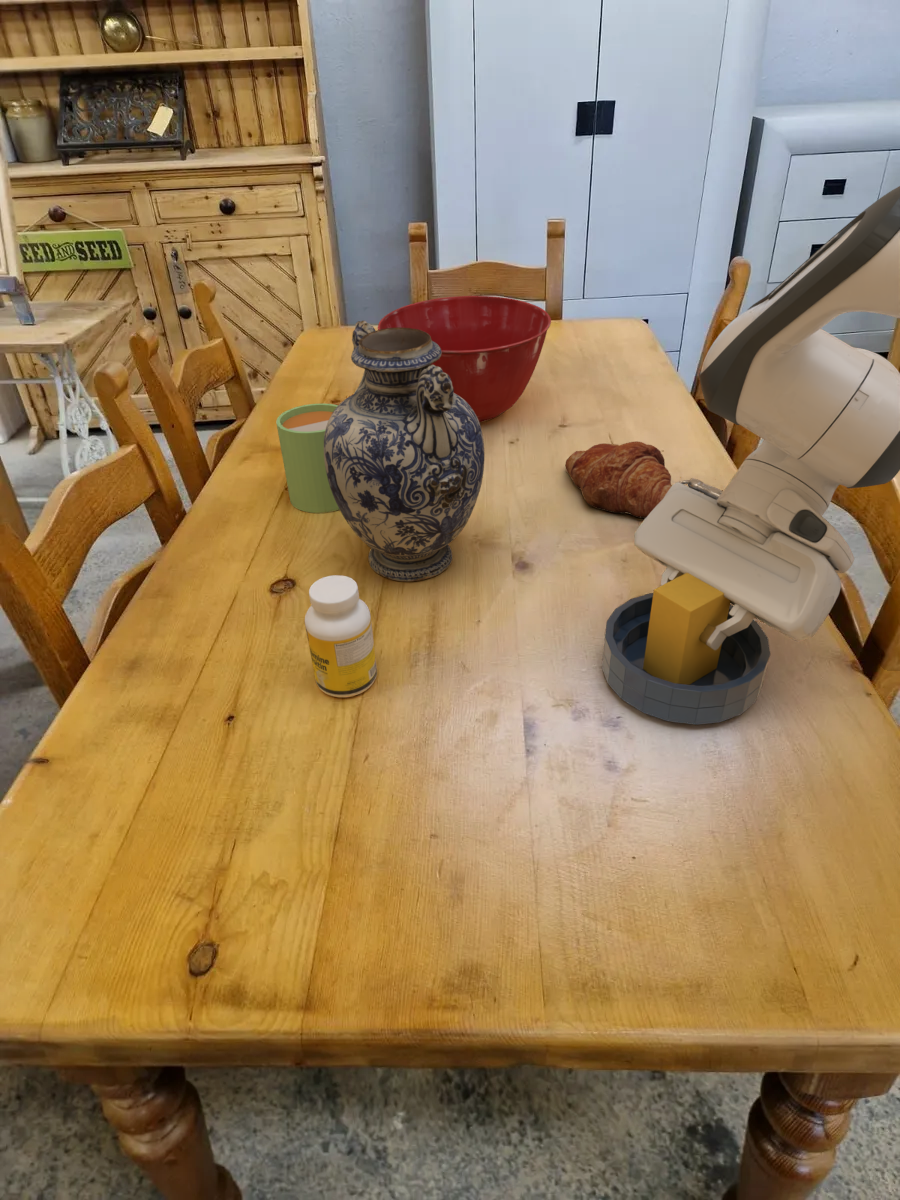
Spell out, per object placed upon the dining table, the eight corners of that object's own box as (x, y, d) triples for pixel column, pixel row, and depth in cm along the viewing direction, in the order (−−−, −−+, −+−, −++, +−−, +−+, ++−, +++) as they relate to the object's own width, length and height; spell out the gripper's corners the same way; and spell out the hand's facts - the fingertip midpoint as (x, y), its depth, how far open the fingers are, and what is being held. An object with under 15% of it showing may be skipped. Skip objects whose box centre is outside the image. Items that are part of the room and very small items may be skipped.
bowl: (786, 722, 75) (798, 682, 72) (624, 737, 74) (630, 698, 71) (725, 622, 88) (732, 585, 85) (586, 634, 87) (589, 597, 84)
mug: (372, 501, 113) (363, 422, 106) (302, 519, 110) (288, 439, 103) (342, 466, 122) (332, 392, 115) (276, 482, 119) (262, 406, 112)
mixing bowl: (511, 454, 124) (512, 356, 115) (355, 428, 134) (344, 336, 125) (569, 390, 144) (573, 303, 135) (429, 372, 154) (425, 290, 145)
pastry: (552, 517, 108) (554, 463, 103) (566, 466, 120) (568, 416, 115) (680, 528, 104) (688, 473, 99) (681, 475, 116) (688, 424, 111)
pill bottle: (317, 661, 85) (301, 572, 78) (377, 656, 85) (366, 566, 78) (314, 703, 80) (296, 611, 73) (378, 697, 80) (367, 605, 73)
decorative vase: (520, 575, 97) (524, 347, 80) (385, 626, 89) (359, 387, 73) (434, 504, 112) (422, 300, 95) (312, 543, 104) (277, 329, 88)
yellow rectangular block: (716, 668, 80) (733, 588, 74) (676, 693, 78) (690, 611, 72) (682, 646, 83) (696, 567, 77) (642, 669, 81) (653, 589, 75)
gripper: (670, 458, 80) (592, 572, 82) (855, 542, 67) (759, 676, 68) (693, 485, 85) (619, 591, 86) (871, 568, 71) (780, 693, 73)
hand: (682, 630), depth 77 cm, fingers closed on yellow rectangular block, 4 cm apart
